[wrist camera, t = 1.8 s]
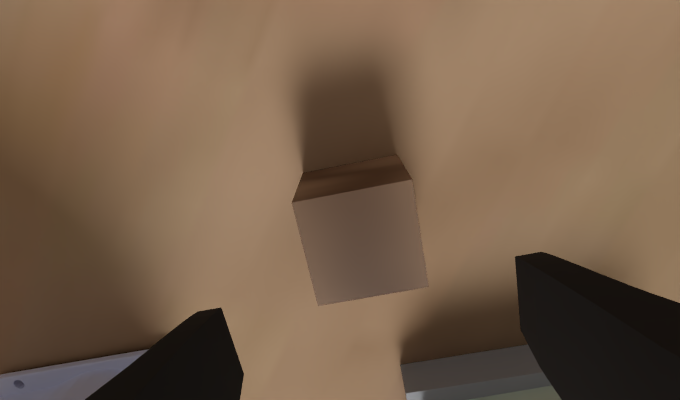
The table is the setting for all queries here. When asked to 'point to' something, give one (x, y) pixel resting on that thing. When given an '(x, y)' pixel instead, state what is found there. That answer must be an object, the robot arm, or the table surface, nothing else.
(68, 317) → the table surface
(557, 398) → the green top slab
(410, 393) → the grey base slab
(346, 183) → the walnut cube
